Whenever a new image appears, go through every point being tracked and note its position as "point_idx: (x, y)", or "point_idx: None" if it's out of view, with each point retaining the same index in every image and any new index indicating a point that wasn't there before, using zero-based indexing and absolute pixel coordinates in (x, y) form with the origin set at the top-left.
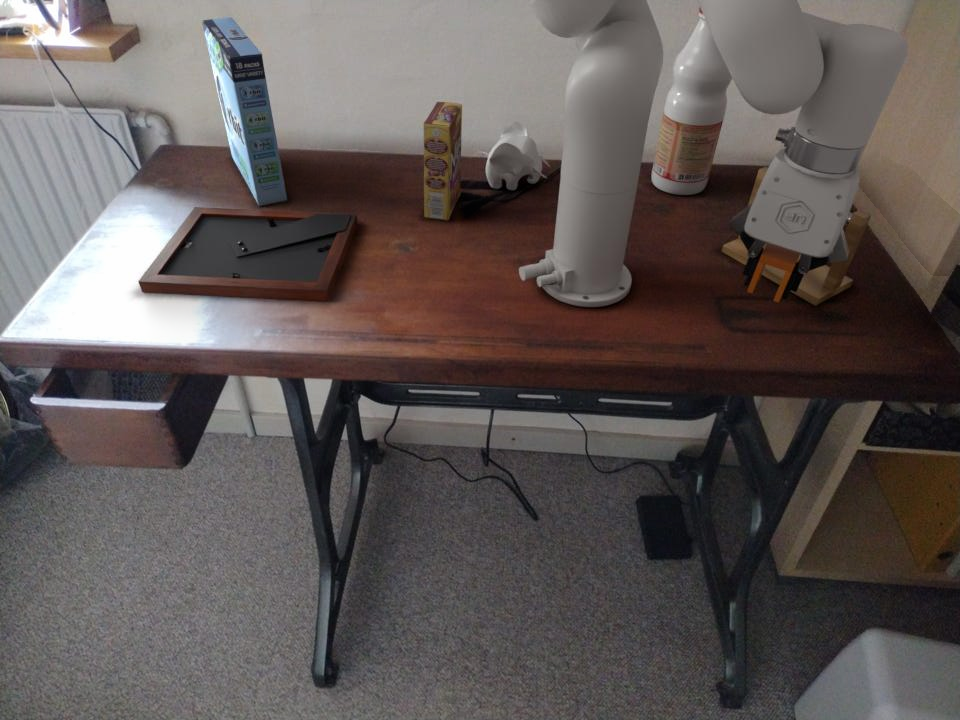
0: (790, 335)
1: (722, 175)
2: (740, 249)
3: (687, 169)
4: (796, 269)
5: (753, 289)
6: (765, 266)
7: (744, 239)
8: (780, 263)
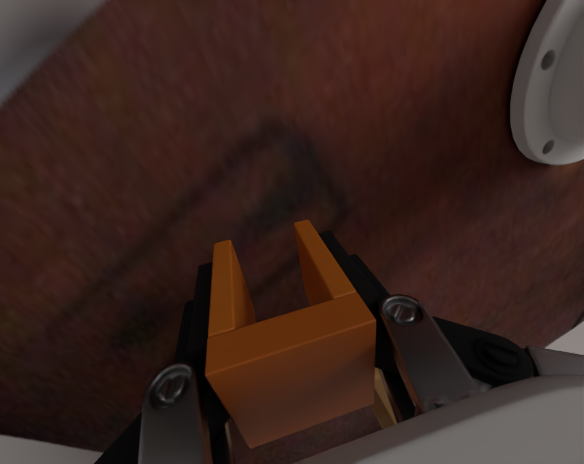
0: (157, 213)
1: None
2: None
3: None
4: None
5: (298, 229)
6: None
7: (492, 342)
8: (274, 343)
